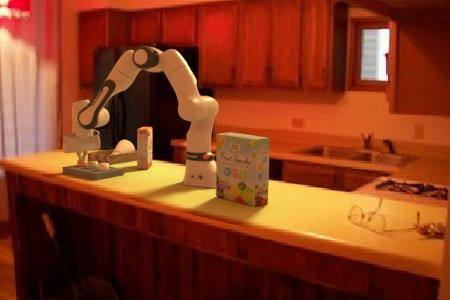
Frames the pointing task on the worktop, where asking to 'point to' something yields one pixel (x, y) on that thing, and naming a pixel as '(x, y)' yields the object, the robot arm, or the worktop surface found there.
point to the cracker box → (144, 147)
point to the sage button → (92, 164)
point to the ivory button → (103, 167)
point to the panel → (93, 172)
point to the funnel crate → (112, 157)
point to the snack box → (242, 168)
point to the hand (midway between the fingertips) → (82, 160)
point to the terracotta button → (82, 163)
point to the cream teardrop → (123, 147)
